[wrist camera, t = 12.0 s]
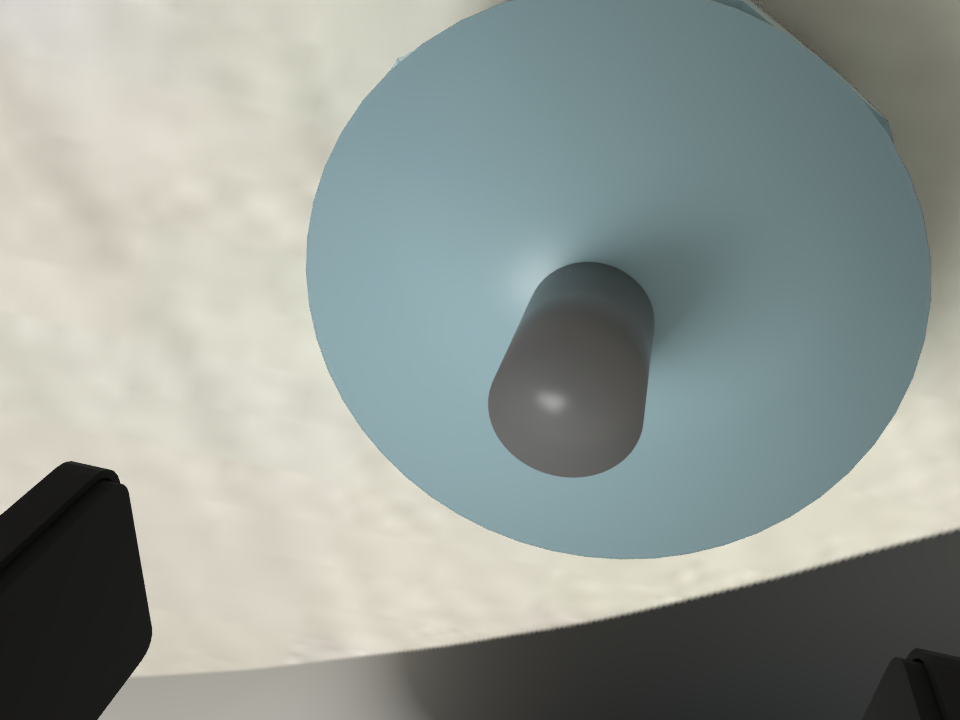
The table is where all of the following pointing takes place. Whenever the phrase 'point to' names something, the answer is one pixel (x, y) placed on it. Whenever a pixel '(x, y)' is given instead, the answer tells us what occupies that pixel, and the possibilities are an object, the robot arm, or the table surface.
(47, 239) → the table surface
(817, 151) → the squat blue cylinder
